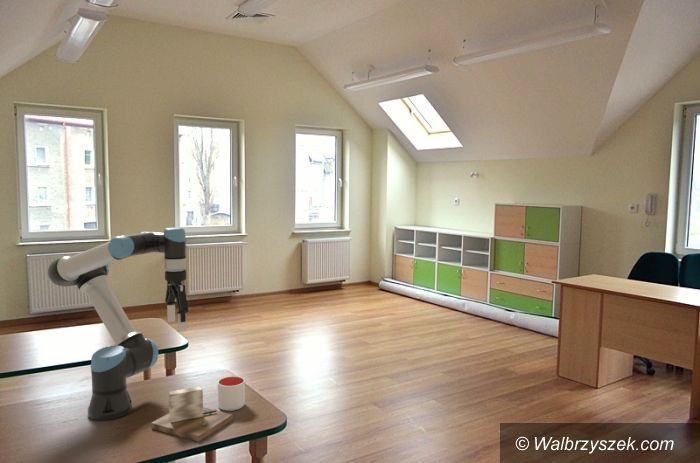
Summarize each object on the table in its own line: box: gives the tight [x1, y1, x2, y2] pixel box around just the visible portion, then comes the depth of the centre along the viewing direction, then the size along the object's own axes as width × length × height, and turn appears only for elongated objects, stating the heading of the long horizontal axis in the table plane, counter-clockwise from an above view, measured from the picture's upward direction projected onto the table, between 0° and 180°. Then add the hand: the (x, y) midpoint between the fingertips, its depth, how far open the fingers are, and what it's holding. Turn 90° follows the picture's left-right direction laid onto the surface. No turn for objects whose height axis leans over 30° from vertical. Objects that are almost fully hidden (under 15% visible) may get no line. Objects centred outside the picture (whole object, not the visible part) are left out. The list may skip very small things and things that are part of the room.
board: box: [150, 406, 234, 443], centre depth 191 cm, size 21×18×2 cm
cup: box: [217, 376, 246, 412], centre depth 205 cm, size 10×10×10 cm
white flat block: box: [168, 386, 218, 422], centre depth 191 cm, size 16×3×10 cm, turn 117°
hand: (176, 326), depth 201 cm, fingers open, 13 cm apart
